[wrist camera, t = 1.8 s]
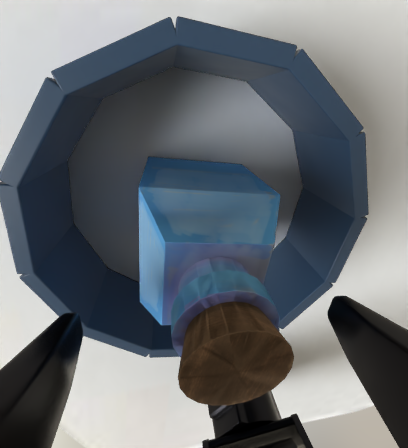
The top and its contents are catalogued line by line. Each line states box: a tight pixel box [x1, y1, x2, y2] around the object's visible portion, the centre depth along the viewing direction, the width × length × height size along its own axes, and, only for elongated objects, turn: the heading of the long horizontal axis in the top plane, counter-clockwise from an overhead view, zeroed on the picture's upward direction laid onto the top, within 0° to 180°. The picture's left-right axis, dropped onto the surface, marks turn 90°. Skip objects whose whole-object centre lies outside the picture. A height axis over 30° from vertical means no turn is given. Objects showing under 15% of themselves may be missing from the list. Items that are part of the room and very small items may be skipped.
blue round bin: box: [0, 17, 368, 358], centre depth 15 cm, size 18×18×6 cm
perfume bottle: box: [139, 157, 294, 405], centre depth 12 cm, size 6×6×12 cm
